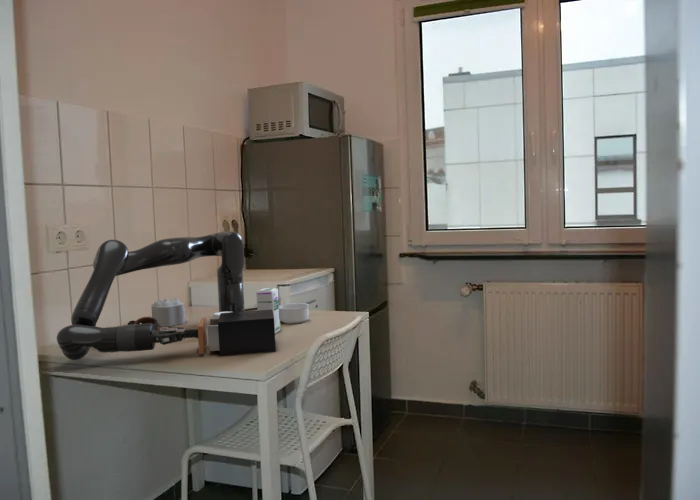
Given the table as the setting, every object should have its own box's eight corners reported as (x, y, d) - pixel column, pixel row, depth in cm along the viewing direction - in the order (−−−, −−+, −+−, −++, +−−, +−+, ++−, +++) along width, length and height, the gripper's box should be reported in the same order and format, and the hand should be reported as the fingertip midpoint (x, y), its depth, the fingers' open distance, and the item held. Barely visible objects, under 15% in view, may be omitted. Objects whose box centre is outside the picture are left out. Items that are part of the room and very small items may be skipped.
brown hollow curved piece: (167, 336, 188) (165, 318, 183) (151, 355, 180) (149, 336, 176) (136, 327, 190) (133, 308, 185) (119, 345, 182) (115, 326, 178)
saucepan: (328, 314, 212) (327, 300, 211) (298, 325, 195) (297, 309, 194) (303, 312, 218) (302, 298, 217) (271, 323, 200) (271, 307, 200)
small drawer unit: (219, 356, 158) (217, 322, 158) (222, 344, 172) (220, 313, 171) (275, 351, 161) (274, 318, 160) (273, 340, 175) (272, 309, 174)
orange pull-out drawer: (194, 354, 158) (193, 326, 157) (199, 343, 170) (197, 318, 169) (251, 349, 160) (250, 322, 160) (251, 339, 173) (250, 314, 172)
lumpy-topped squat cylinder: (162, 327, 200) (160, 303, 200) (146, 323, 210) (145, 300, 209) (188, 322, 207) (187, 299, 207) (172, 318, 217) (171, 296, 216)
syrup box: (275, 334, 183) (273, 290, 182) (258, 334, 184) (256, 290, 183) (280, 330, 188) (278, 287, 187) (264, 330, 190) (262, 287, 189)
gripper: (129, 329, 150) (195, 324, 153) (139, 319, 163) (200, 315, 166) (131, 356, 151) (197, 351, 154) (141, 345, 164) (201, 340, 167)
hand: (198, 332), depth 160 cm, fingers closed
